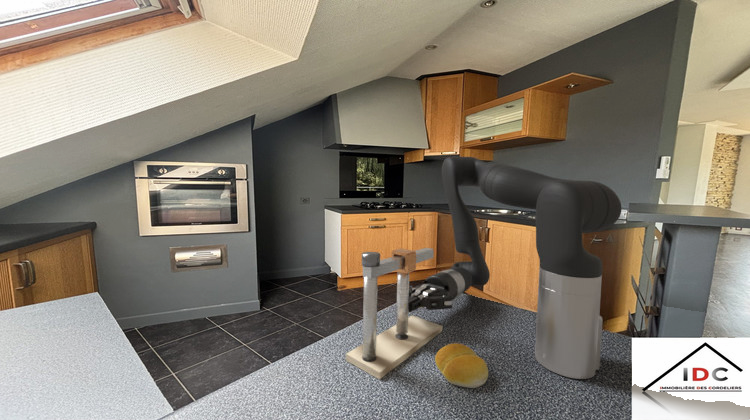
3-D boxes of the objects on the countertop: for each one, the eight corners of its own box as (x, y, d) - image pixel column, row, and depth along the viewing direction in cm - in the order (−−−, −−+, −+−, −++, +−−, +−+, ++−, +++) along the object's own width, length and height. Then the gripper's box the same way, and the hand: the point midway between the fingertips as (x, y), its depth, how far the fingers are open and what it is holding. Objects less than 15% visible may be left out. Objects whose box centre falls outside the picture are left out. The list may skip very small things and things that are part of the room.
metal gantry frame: (421, 317, 68) (423, 238, 66) (433, 321, 65) (436, 240, 64) (356, 358, 51) (358, 253, 50) (370, 365, 49) (371, 256, 47)
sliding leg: (398, 328, 61) (400, 248, 60) (414, 335, 58) (416, 251, 57) (389, 334, 59) (391, 250, 58) (405, 340, 56) (407, 253, 55)
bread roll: (455, 395, 44) (455, 370, 44) (428, 361, 52) (429, 340, 52) (500, 386, 46) (501, 362, 46) (468, 355, 55) (468, 335, 54)
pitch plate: (411, 320, 69) (412, 314, 69) (442, 331, 64) (442, 325, 64) (345, 360, 52) (345, 353, 52) (379, 379, 47) (379, 371, 47)
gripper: (422, 267, 76) (381, 282, 63) (470, 277, 68) (434, 297, 55) (421, 294, 77) (380, 315, 64) (469, 308, 68) (433, 335, 55)
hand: (405, 306), depth 59 cm, fingers closed
